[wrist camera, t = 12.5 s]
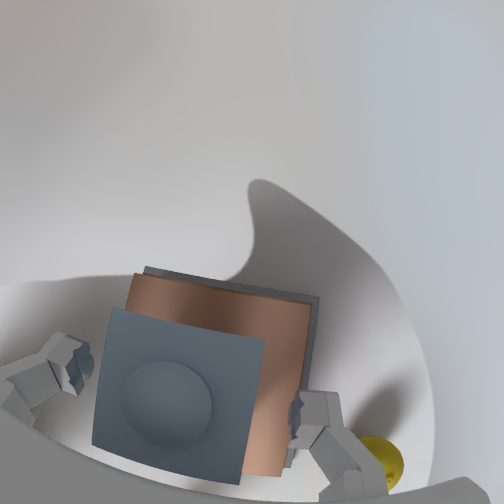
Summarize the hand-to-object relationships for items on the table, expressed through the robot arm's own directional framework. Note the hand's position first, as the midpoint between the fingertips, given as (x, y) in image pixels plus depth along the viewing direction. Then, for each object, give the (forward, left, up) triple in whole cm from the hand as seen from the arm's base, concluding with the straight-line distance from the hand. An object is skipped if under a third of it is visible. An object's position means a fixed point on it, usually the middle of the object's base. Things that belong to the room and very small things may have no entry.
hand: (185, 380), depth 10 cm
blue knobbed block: (0, -1, -6) cm, 6 cm away
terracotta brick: (0, -1, -15) cm, 15 cm away
